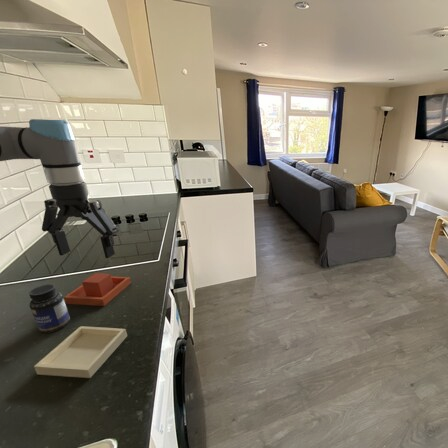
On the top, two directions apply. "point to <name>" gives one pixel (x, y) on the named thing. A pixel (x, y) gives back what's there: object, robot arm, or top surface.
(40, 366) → the cream tray
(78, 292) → the terracotta tray
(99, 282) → the block
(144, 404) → the top surface
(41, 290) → the pill bottle
